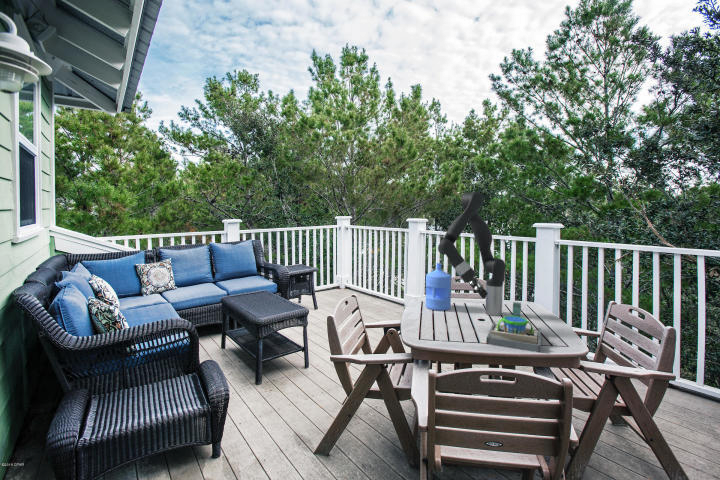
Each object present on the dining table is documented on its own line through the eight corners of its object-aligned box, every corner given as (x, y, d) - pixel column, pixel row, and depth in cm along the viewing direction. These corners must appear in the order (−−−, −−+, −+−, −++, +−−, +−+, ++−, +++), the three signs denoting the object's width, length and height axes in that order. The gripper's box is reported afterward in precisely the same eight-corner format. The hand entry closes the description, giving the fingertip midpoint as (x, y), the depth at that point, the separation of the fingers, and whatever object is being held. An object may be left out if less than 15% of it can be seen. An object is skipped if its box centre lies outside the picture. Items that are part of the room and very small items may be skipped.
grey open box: (495, 327, 189) (496, 300, 188) (537, 333, 181) (538, 304, 180) (490, 341, 169) (491, 311, 168) (536, 349, 160) (538, 316, 159)
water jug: (431, 303, 240) (432, 261, 238) (454, 306, 231) (455, 263, 229) (421, 308, 228) (421, 264, 225) (444, 312, 218) (445, 266, 216)
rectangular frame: (493, 327, 190) (493, 322, 190) (540, 334, 180) (540, 328, 180) (486, 343, 167) (486, 337, 167) (540, 352, 157) (540, 345, 157)
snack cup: (530, 337, 175) (531, 317, 174) (534, 345, 165) (534, 323, 164) (496, 334, 180) (496, 314, 179) (497, 341, 170) (498, 320, 169)
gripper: (469, 268, 184) (490, 294, 180) (472, 265, 197) (492, 290, 193) (457, 277, 187) (478, 303, 183) (461, 274, 200) (481, 298, 196)
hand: (485, 296), depth 188 cm, fingers open, 8 cm apart
